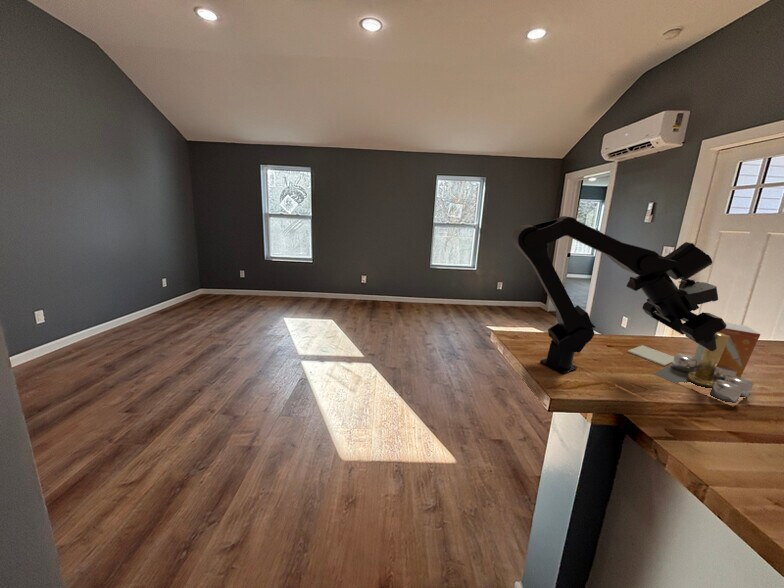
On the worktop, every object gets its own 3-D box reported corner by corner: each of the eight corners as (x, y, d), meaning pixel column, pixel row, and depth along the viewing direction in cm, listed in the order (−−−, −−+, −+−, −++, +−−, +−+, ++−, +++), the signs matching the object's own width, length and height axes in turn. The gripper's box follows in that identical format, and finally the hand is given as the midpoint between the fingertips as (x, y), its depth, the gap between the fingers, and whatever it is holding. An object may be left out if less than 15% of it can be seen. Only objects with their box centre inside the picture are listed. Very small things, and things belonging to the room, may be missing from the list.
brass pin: (710, 391, 76) (731, 341, 72) (683, 379, 80) (701, 332, 76) (718, 385, 78) (739, 337, 74) (691, 375, 82) (709, 328, 79)
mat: (733, 409, 70) (733, 407, 70) (652, 375, 82) (653, 373, 82) (753, 392, 77) (754, 390, 77) (676, 363, 89) (677, 361, 89)
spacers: (735, 407, 70) (741, 394, 69) (654, 373, 82) (658, 361, 81) (755, 391, 77) (761, 378, 76) (678, 362, 89) (682, 351, 88)
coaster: (663, 367, 86) (664, 364, 86) (627, 353, 94) (627, 350, 93) (677, 361, 91) (678, 358, 91) (641, 347, 98) (642, 345, 98)
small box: (701, 372, 85) (720, 327, 82) (690, 361, 91) (707, 319, 87) (741, 380, 83) (761, 333, 79) (727, 368, 88) (745, 325, 85)
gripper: (733, 280, 63) (773, 338, 65) (669, 262, 81) (702, 308, 83) (676, 313, 66) (716, 367, 68) (627, 289, 84) (660, 333, 86)
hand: (698, 341), depth 76 cm, fingers open, 9 cm apart
